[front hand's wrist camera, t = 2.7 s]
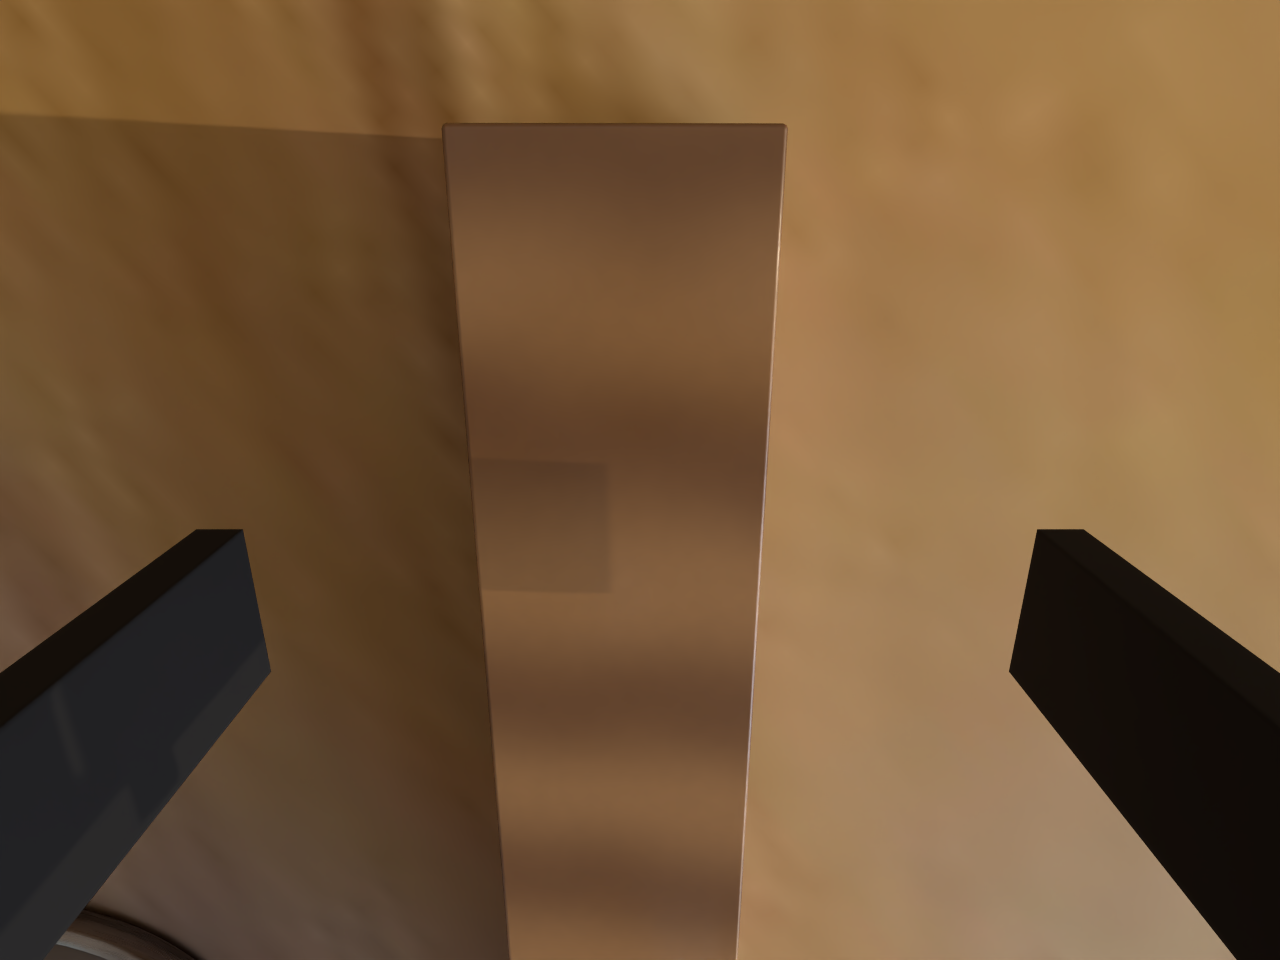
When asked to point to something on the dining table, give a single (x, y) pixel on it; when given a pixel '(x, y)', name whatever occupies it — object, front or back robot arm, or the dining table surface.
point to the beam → (618, 512)
